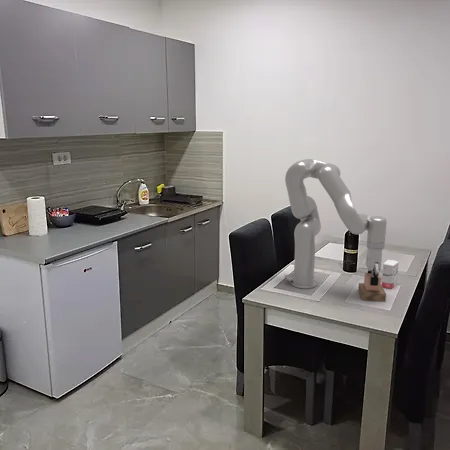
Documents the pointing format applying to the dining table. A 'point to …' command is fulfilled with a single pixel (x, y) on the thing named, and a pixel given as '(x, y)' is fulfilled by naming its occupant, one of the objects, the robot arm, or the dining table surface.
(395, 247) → the dining table surface
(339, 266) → the dining table surface
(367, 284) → the clay cube
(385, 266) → the ink box
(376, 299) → the walnut block
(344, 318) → the dining table surface
